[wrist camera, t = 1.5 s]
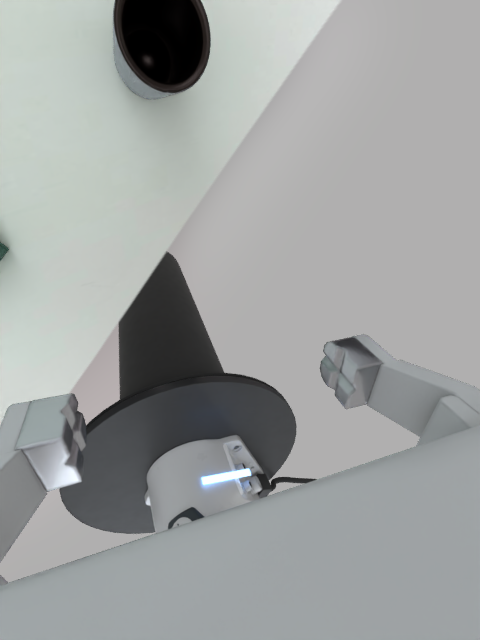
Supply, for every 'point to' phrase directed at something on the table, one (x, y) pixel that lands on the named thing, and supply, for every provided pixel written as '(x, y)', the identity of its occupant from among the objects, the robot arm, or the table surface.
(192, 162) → the table surface
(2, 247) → the tray
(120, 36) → the planter
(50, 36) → the table surface
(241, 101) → the table surface
